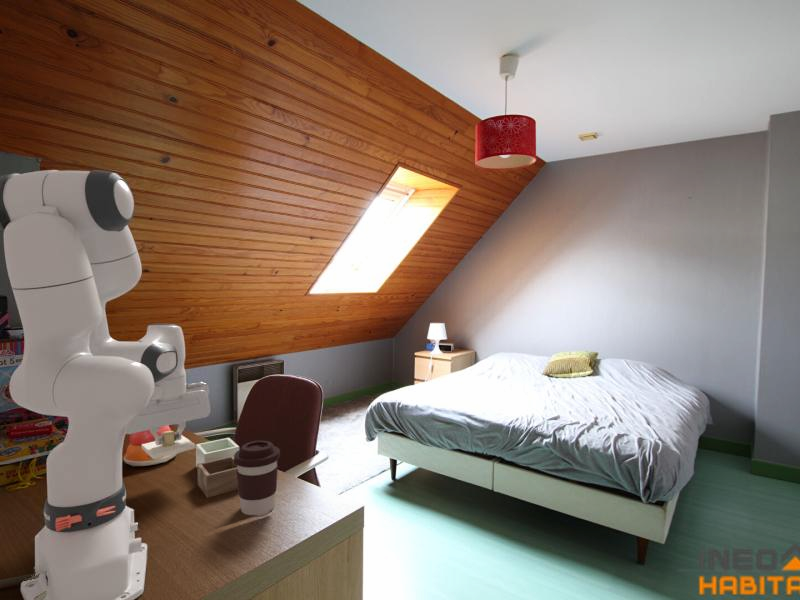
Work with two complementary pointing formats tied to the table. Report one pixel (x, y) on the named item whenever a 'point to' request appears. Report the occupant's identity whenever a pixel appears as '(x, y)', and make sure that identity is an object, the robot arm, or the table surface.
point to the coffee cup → (257, 477)
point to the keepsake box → (217, 476)
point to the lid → (168, 446)
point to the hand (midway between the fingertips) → (168, 442)
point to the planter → (215, 450)
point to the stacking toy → (137, 454)
